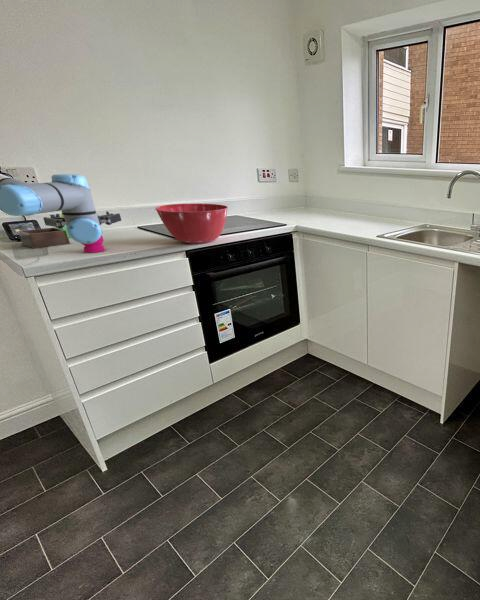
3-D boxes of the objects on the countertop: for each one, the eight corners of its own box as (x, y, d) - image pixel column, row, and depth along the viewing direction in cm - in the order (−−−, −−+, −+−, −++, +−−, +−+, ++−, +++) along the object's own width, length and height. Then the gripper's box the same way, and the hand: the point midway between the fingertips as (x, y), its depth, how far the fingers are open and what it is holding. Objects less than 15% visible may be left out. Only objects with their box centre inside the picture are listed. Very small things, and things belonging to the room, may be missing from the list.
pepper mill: (107, 251, 139) (92, 199, 132) (83, 253, 135) (67, 200, 127) (105, 248, 144) (91, 197, 137) (82, 250, 140) (67, 198, 132)
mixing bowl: (245, 239, 168) (241, 206, 162) (188, 250, 144) (181, 212, 139) (207, 232, 180) (202, 201, 174) (148, 242, 156) (140, 206, 150)
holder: (33, 248, 140) (28, 234, 138) (22, 244, 145) (17, 231, 143) (70, 243, 149) (65, 230, 147) (58, 240, 155) (54, 227, 153)
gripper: (34, 240, 106) (40, 229, 121) (135, 232, 121) (129, 223, 136) (25, 215, 103) (32, 207, 118) (129, 210, 119) (124, 204, 134)
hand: (84, 216), depth 127 cm, fingers open, 13 cm apart
